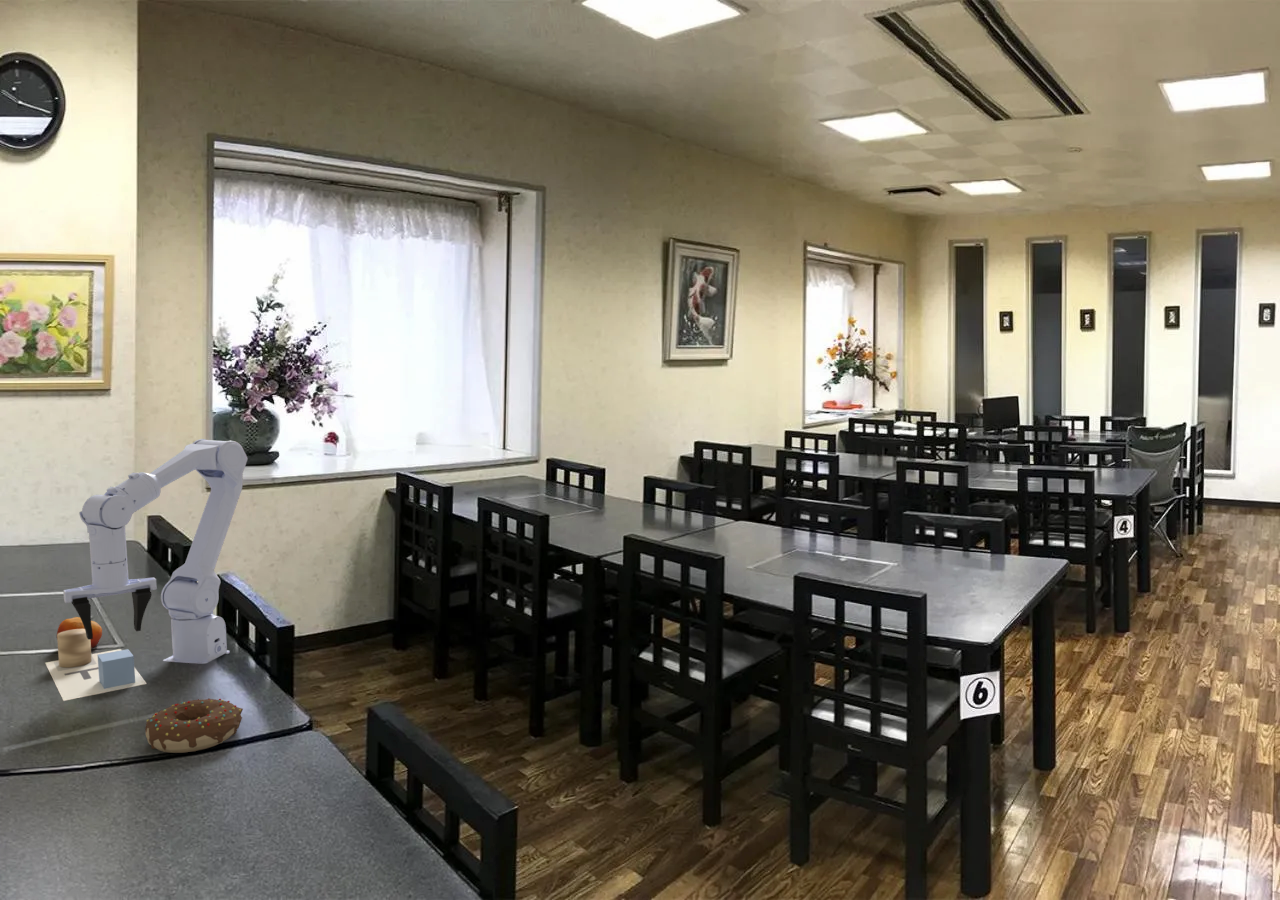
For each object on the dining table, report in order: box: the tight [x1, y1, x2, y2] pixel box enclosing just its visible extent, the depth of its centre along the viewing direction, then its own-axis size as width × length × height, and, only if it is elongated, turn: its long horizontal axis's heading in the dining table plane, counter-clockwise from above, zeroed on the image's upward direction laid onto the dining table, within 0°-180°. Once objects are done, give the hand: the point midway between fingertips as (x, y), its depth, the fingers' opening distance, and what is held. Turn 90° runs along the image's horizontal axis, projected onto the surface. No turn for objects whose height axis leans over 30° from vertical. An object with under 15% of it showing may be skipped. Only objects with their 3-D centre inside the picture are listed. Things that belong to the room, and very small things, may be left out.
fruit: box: [56, 616, 103, 649], centre depth 187 cm, size 8×8×8 cm
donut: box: [144, 698, 244, 754], centre depth 145 cm, size 14×14×5 cm
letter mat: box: [44, 648, 147, 702], centre depth 173 cm, size 13×25×1 cm, turn 39°
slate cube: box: [98, 648, 136, 689], centre depth 168 cm, size 5×5×5 cm
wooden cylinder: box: [56, 629, 92, 667], centre depth 178 cm, size 5×5×6 cm
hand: (114, 633), depth 167 cm, fingers open, 7 cm apart
